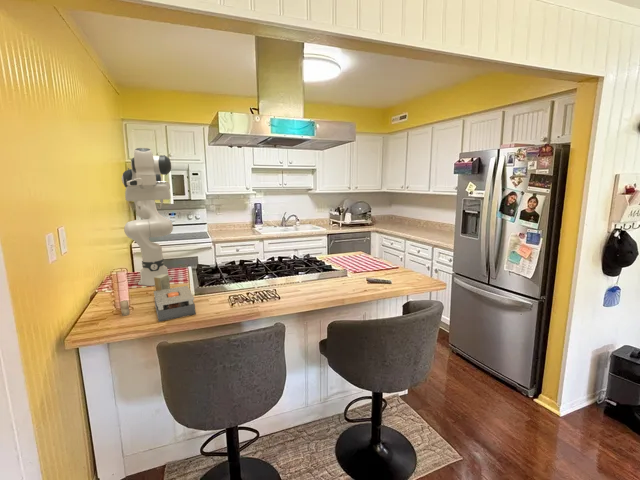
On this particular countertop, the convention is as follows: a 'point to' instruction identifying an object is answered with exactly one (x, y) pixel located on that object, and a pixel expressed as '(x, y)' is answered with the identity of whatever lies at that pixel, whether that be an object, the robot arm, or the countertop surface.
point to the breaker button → (173, 294)
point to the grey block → (124, 307)
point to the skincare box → (162, 282)
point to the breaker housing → (174, 303)
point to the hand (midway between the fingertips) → (149, 209)
